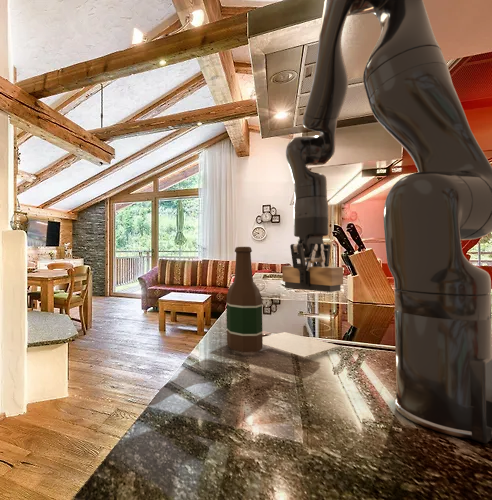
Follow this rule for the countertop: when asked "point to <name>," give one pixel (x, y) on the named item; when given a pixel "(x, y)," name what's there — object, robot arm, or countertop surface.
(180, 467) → the countertop surface
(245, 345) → the beer bottle
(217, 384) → the countertop surface
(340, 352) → the countertop surface
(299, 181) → the robot arm
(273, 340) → the white tile
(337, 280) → the scrub brush
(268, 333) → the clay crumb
